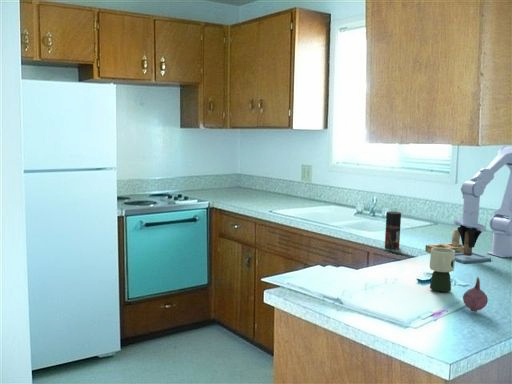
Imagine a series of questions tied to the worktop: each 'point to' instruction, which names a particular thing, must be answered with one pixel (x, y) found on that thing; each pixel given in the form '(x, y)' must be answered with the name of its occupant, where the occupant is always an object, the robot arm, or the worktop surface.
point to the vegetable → (475, 297)
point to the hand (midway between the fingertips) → (468, 246)
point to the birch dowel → (455, 238)
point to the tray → (471, 258)
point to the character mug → (441, 268)
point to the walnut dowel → (467, 246)
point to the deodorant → (392, 230)
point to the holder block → (447, 245)
